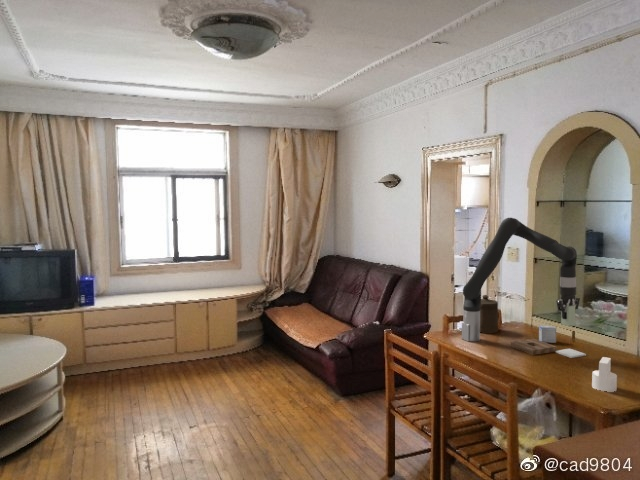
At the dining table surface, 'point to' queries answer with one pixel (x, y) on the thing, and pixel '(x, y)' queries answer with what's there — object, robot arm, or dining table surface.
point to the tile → (570, 353)
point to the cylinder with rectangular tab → (604, 377)
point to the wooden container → (488, 315)
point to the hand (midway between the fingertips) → (568, 318)
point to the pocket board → (533, 346)
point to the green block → (569, 316)
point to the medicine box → (547, 334)
